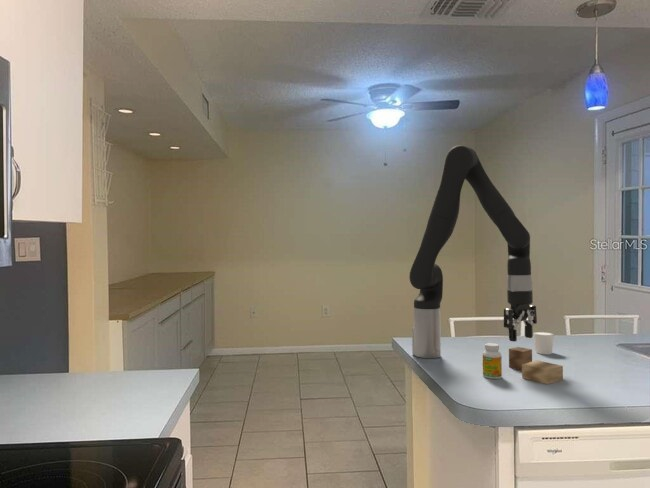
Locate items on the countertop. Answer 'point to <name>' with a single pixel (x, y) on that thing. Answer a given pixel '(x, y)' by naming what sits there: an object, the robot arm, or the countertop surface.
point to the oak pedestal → (542, 372)
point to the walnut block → (519, 357)
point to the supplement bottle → (492, 361)
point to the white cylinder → (543, 342)
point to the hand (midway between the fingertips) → (521, 339)
